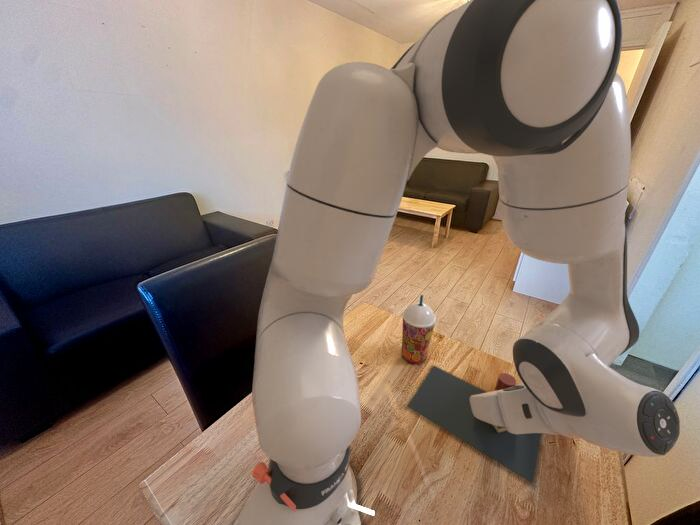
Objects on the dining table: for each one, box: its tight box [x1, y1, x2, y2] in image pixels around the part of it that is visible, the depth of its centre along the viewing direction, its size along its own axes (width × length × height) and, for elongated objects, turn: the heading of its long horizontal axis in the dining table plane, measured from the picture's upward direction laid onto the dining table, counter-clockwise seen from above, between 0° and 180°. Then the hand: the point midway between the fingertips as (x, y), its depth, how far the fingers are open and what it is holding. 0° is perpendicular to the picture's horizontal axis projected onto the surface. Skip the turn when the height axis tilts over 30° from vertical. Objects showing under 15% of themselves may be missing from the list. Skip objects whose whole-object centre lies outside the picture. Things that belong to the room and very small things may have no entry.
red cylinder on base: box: [493, 372, 517, 433], centre depth 60 cm, size 7×4×11 cm, turn 12°
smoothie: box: [401, 294, 437, 364], centre depth 74 cm, size 8×8×20 cm
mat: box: [407, 365, 542, 484], centre depth 63 cm, size 15×25×1 cm, turn 52°
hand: (499, 393), depth 61 cm, fingers closed on red cylinder on base, 3 cm apart
